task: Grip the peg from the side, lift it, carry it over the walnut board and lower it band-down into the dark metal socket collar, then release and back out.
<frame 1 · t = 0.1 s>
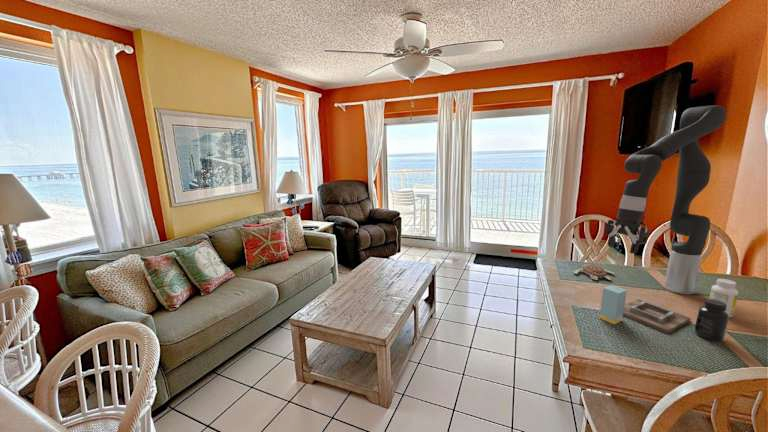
hand: (621, 249, 118), 22 cm above the table, tool pointing down, fingers open, 8 cm apart
supplement bottle 2: (719, 313, 113), on the table
socket board: (651, 316, 113), on the table
supplement bottle: (708, 336, 101), on the table
peg: (610, 319, 112), on the table
decorative turtle: (593, 275, 150), on the table
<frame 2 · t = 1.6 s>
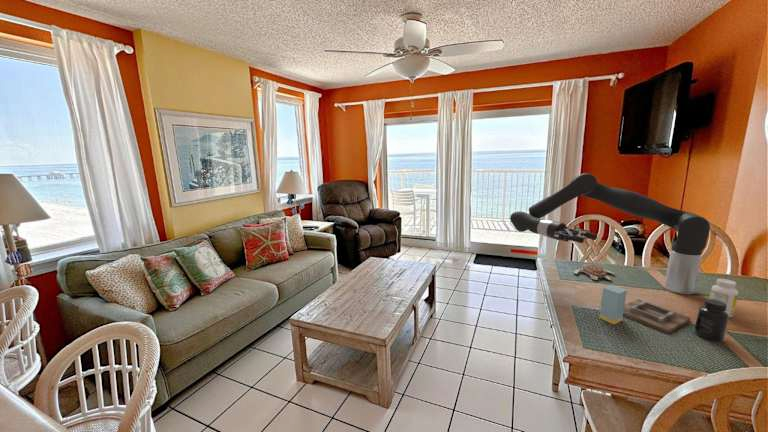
hand: (590, 238, 119), 26 cm above the table, tool horizontal, fingers open, 8 cm apart
nothing on the table moved.
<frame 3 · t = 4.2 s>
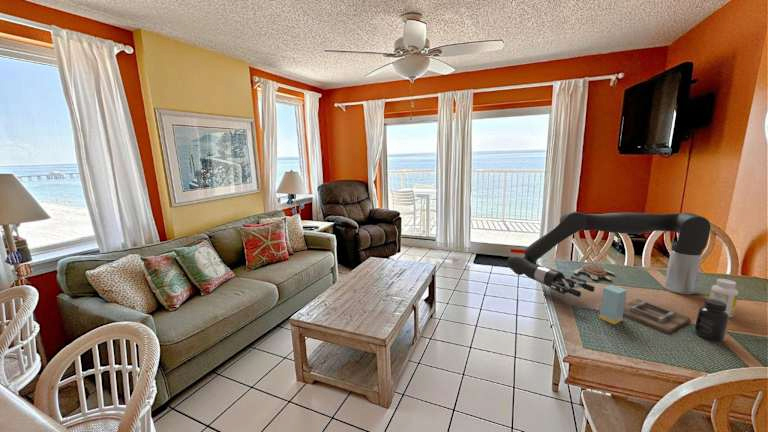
hand: (587, 292, 118), 7 cm above the table, tool horizontal, fingers open, 8 cm apart
nothing on the table moved.
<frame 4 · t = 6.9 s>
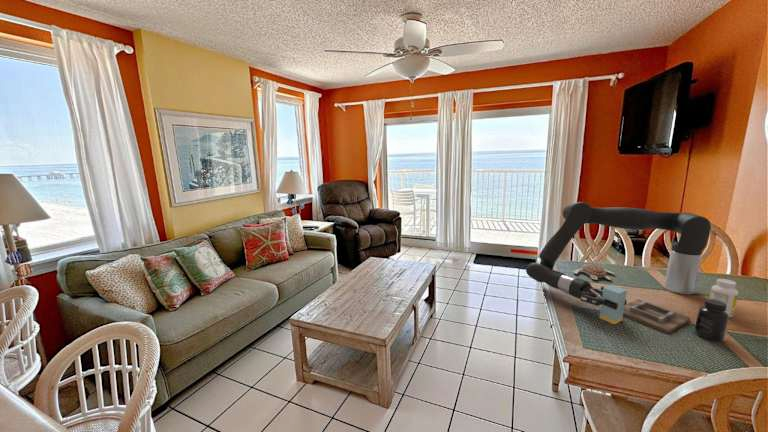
hand: (621, 304, 108), 7 cm above the table, tool horizontal, fingers closed on peg, 5 cm apart
peg: (610, 319, 112), on the table, touching gripper
everything else where it was.
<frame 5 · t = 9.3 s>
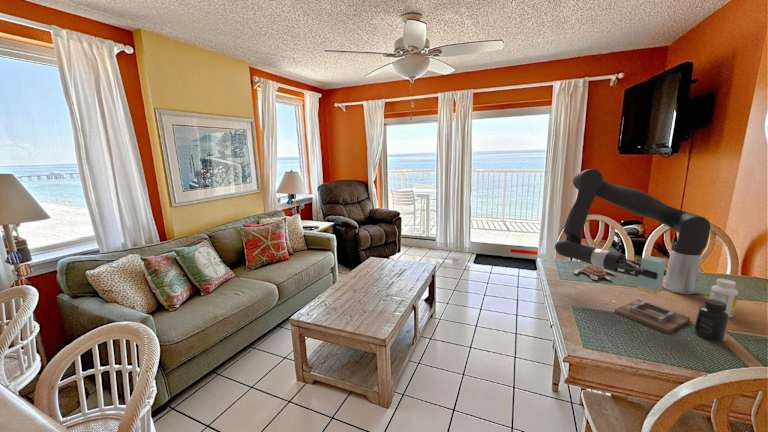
hand: (661, 274, 106), 18 cm above the table, tool horizontal, fingers closed on peg, 5 cm apart
peg: (648, 290, 110), point 11 cm above the table, touching gripper
everything else where it was.
when the fingers open (9 cm above the table, at t = 11.7 s): peg stays where it is, resting on socket board.
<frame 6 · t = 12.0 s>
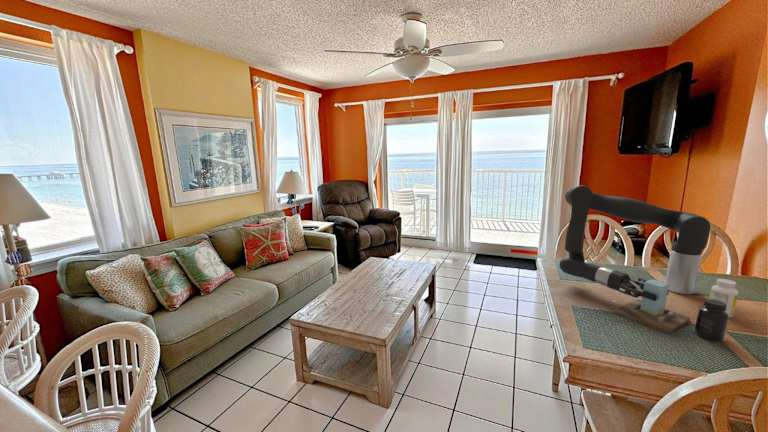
hand: (662, 295, 109), 9 cm above the table, tool horizontal, fingers open, 7 cm apart
peg: (651, 313, 112), point 1 cm above the table, touching socket board
everything else where it was.
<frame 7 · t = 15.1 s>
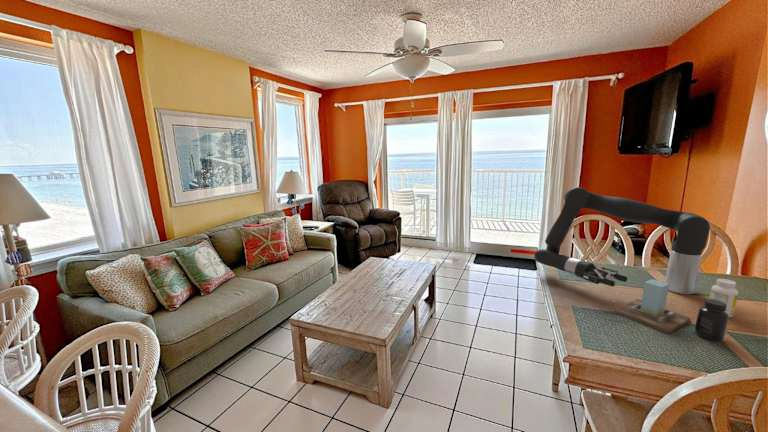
hand: (620, 281, 120), 9 cm above the table, tool horizontal, fingers open, 8 cm apart
nothing on the table moved.
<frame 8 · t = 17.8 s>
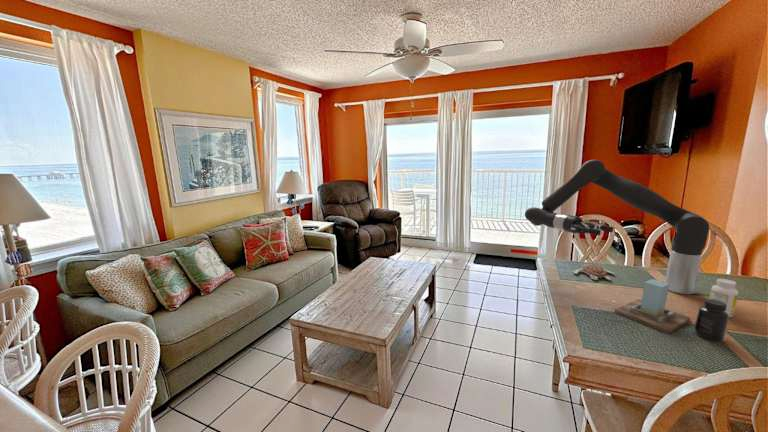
hand: (606, 231, 123), 28 cm above the table, tool horizontal, fingers open, 8 cm apart
nothing on the table moved.
at the end: peg 0.0 cm off-centre on the socket board, point 1.2 cm above the socket board's base; peg tilted 0°; the gripper is holding nothing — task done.
